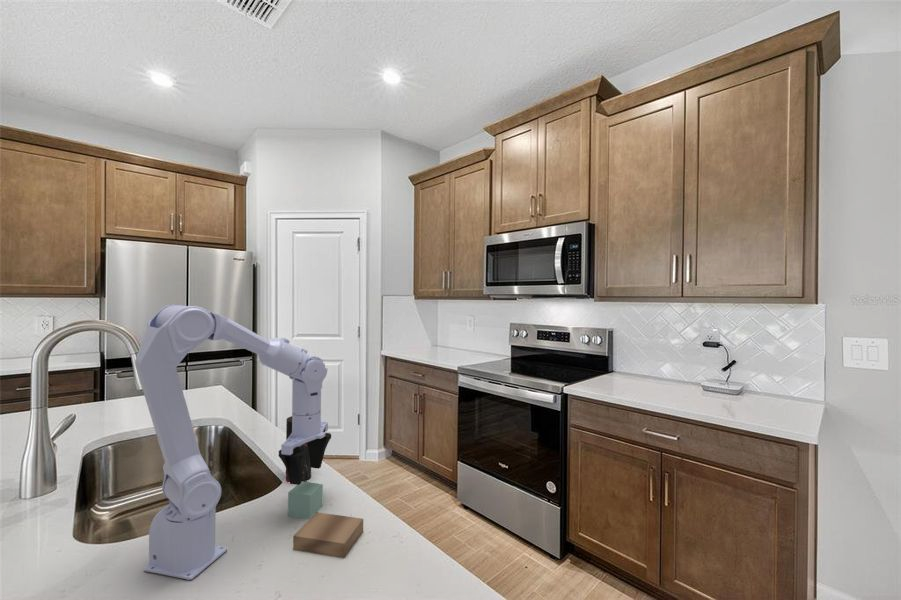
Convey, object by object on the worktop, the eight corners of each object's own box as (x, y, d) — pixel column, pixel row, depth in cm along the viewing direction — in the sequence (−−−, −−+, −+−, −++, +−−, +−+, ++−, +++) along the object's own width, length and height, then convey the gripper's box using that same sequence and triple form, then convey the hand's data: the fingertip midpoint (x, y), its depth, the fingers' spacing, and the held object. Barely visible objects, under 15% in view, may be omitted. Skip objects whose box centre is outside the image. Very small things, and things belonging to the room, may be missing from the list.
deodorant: (315, 474, 103) (316, 416, 102) (301, 485, 97) (302, 423, 97) (295, 471, 104) (296, 413, 104) (280, 481, 98) (281, 420, 98)
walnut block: (293, 552, 73) (293, 535, 73) (316, 526, 81) (316, 512, 81) (344, 560, 71) (344, 543, 71) (363, 533, 79) (363, 518, 79)
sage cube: (287, 516, 84) (288, 492, 84) (301, 503, 89) (301, 481, 89) (309, 519, 83) (310, 495, 83) (322, 506, 88) (322, 484, 87)
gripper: (304, 424, 77) (303, 494, 78) (340, 403, 92) (339, 463, 92) (272, 421, 79) (271, 489, 79) (312, 401, 93) (311, 459, 93)
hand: (306, 475), depth 86 cm, fingers open, 7 cm apart
